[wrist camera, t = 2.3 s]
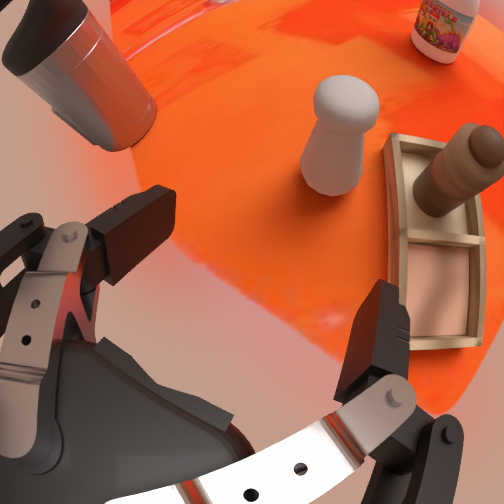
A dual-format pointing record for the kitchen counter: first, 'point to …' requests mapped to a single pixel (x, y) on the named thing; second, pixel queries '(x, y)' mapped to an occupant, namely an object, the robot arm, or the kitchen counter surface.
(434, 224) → the spice rack
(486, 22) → the kitchen counter surface
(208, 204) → the kitchen counter surface
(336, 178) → the salt shaker
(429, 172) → the pepper mill
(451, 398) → the kitchen counter surface
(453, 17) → the milk bottle
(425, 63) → the kitchen counter surface
